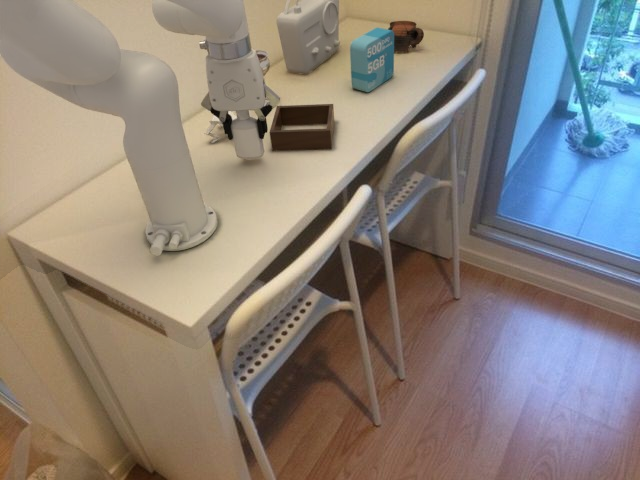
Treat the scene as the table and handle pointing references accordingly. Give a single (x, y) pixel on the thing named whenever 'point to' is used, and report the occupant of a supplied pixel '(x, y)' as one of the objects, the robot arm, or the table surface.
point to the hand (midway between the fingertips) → (247, 135)
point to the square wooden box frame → (302, 137)
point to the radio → (308, 33)
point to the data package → (372, 59)
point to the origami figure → (215, 122)
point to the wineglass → (263, 64)
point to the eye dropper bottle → (246, 136)
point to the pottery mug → (405, 35)
